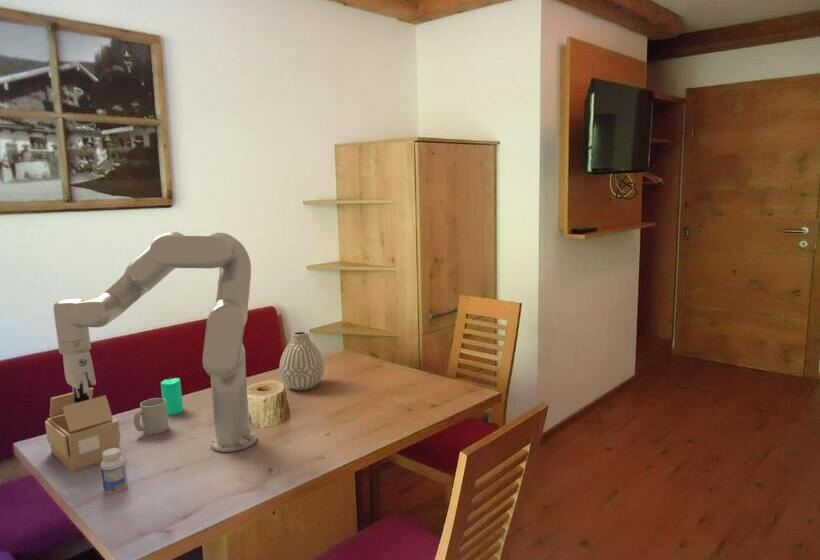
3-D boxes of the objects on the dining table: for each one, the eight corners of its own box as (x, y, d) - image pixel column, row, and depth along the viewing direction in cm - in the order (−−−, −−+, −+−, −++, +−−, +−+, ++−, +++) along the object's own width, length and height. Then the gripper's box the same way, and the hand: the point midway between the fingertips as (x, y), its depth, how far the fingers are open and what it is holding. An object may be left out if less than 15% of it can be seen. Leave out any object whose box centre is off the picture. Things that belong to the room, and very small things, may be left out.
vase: (321, 393, 212) (318, 338, 209) (276, 394, 212) (272, 339, 209) (328, 378, 228) (325, 326, 224) (286, 379, 228) (282, 328, 225)
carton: (123, 455, 168) (119, 420, 166) (70, 473, 158) (65, 437, 157) (99, 437, 181) (95, 405, 179) (48, 453, 171) (43, 419, 169)
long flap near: (113, 419, 166) (105, 395, 167) (70, 431, 158) (62, 406, 159) (112, 419, 166) (105, 395, 167) (69, 432, 158) (62, 406, 160)
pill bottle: (109, 483, 152) (104, 447, 150) (131, 482, 152) (127, 445, 151) (99, 494, 147) (95, 457, 145) (122, 493, 147) (118, 455, 145)
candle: (186, 408, 202) (183, 373, 200) (177, 414, 196) (174, 379, 194) (169, 407, 203) (165, 373, 201) (160, 414, 197) (156, 379, 195)
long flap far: (91, 405, 177) (93, 388, 174) (50, 417, 169) (51, 399, 166) (90, 404, 177) (92, 387, 174) (49, 415, 170) (50, 397, 166)
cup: (173, 428, 185) (170, 401, 184) (141, 440, 178) (138, 411, 176) (160, 423, 190) (157, 396, 188) (129, 434, 182) (126, 406, 181)
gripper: (99, 346, 160) (107, 412, 163) (80, 337, 171) (88, 400, 174) (68, 353, 155) (77, 421, 158) (50, 343, 165) (59, 407, 168)
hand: (83, 410), depth 166 cm, fingers closed
